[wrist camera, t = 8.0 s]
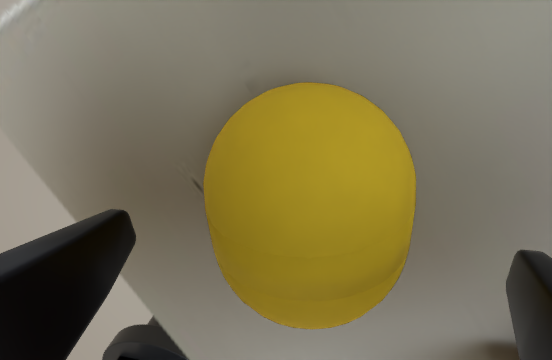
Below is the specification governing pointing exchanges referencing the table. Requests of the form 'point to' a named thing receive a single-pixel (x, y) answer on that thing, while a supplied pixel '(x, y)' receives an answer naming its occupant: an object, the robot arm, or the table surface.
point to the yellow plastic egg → (310, 204)
